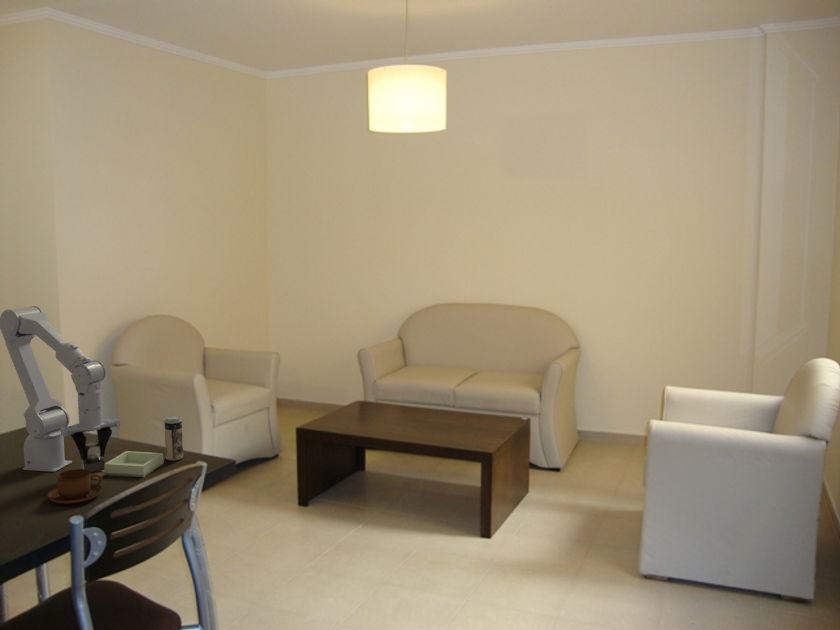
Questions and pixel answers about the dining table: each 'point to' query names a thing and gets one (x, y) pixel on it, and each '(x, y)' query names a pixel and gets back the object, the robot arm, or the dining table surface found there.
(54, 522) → the dining table surface
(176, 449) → the lidded jar
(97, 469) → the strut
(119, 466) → the tray
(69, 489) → the cup and saucer
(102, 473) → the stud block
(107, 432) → the robot arm
